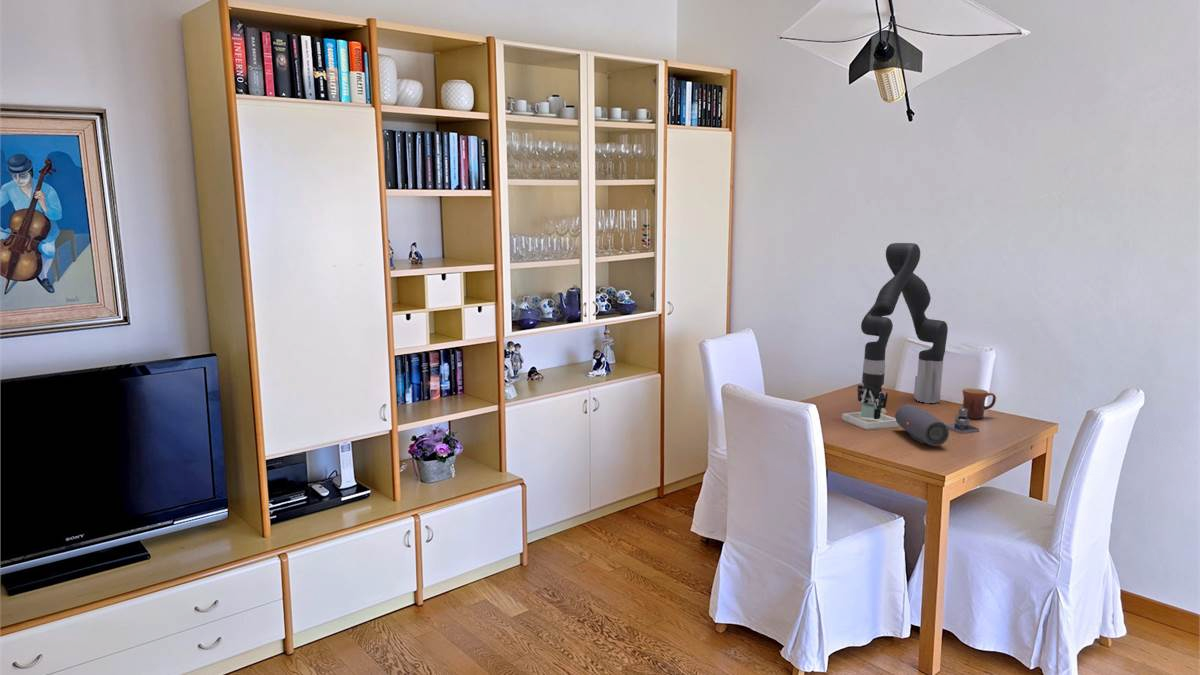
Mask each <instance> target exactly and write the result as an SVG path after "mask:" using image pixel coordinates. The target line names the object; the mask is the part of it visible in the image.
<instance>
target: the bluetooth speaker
mask: <svg viewBox="0 0 1200 675" xmlns="http://www.w3.org/2000/svg"><path fill="white" fill-rule="evenodd" d="M894 418H895V419H896V421H897V423H898V424H899V427H901V428H902V429H903V430H904V431H906V432H907V433H908V434H909V436H910V437H911V438H912V439H914V440H916V441H917V442H918V443H921V444H923V445H929V446H933V447H935V446H937V447H938V446H939V447H940V446H942V445H943V444H944V443H945V442H947V441H948V438H949V437H950V429H948V427H947V426H946V425H947V424H946V423H944V422H943V420H940V419H939V418H938V417H936V416H934V415H933V414H932V413H930V412H928V411H926V410H923V409H922V408H919V406H915V405H913V404H907V403H906V404H902V405H901V406H899V408H898V409H897V410H896V412H895V416H894Z"/></svg>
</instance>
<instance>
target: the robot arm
mask: <svg viewBox="0 0 1200 675" xmlns="http://www.w3.org/2000/svg"><path fill="white" fill-rule="evenodd" d="M885 258H886V262H887V265H888V267H889V269H890V271H891V272H892V275H893V277H892V278H891V279H889V280H888V281H887V282H885V284H883V286H882V287H881V288H880V290H879V292H878V294H877V297H876V300H875V301H874V304H873V306H872V307H871V308H870V309H869V310H868V312H867V313H866V314H865V315H864V317H863V319H862V320H861V325H860V330H861V332H862V333H863V334H865V335H867V336H874V337H878V339H877V340H876V341H869V342H866V343H865V344H864V345H865V346H864V357H863V359H864V360H863V363H862V364H863V365H862V376H861V378H862V379H861V381H862V382H861V383H862V384H860V385H859V384H857V401H858V402H860V405H862V403H870V400H872V403H873V404H874V408H875V409H874V419H879V418H880V414H881V409H882V408H885V409H886V407H887V400H888V395H889V394H888V392H885V391H883V390H882V389H883V388H882V386H884V384H885V371H886V351H887V350H886V349H887V346H888V342H889V339H890V336H891V334H892V331H893V329H894V328H893V326H894V325H893V321H892V319H891V318H889V317H887V316H891V315H893V313H894V311H895V308H896V306H897V303H898V300H899V298H900V296H901V294H902V296H903V299H904V302H905V304H906V306H907V308H908V310H909V314H910V316H911V320H912V323H913V327H914V330H915V335H916V337H917V339H918V340H919V341H921V342H923V343H925V342H926V343H931V344H932V347H931V348H928V349H925V350H920V351H919V353H918V362H917V363H918V364H917V375H916V376H915V378H914V381H915V382H914V389H913V390H914V391H913V399H914V398H915V399H916V400H917V401H916V400H915V399H914V400H915V401H916V402H918V401H920V402H919V403H921V402H924V403H923V404H929V403H934V402H939V401H941V392H942V378H943V371H944V370H943V367H944V359H945V358H944V357H945V354H946V347H947V346H946V345H947V339H948V324H947V322H946V321H944V320H939V319H934V318H933V319H932V318H928V317H926V314H925V312H926V310H927V309H928V308H929V305H930V303H931V299H932V298H931V294H930V291H929V289H928V286H927V284H926V282H925V281H924V280H923V279H921V278H920V277H919V276H918V275H917V274H915V273H914V271H915V270H916V268H917V267H918V265H919V263H920V258H921V249H920V247H919V245H918V244H917V243H914V242H913V243H912V242H895V243H891V244H889V245H887V247H886V249H885ZM876 399H878V400H876ZM877 403H878V406H877ZM882 403H883V405H882ZM939 403H940V402H939Z"/></svg>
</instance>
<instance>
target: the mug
mask: <svg viewBox="0 0 1200 675" xmlns="http://www.w3.org/2000/svg"><path fill="white" fill-rule="evenodd" d="M962 395H963V400H962V408H966V409H968V411H967V418H973V419H972V420H980V419H979V418H981V419H982V418H984V416H985V410H989V409H991V408H993V407H994V405H995V404H996V402H997V401H996V400H997V397H996V394H995V393H992V392H988V390H985V389H981V388H973V387H965V388H962ZM989 396H992V400H991V403H990V404H989V405H986V406H985V402H986V398H987V397H989Z"/></svg>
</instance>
